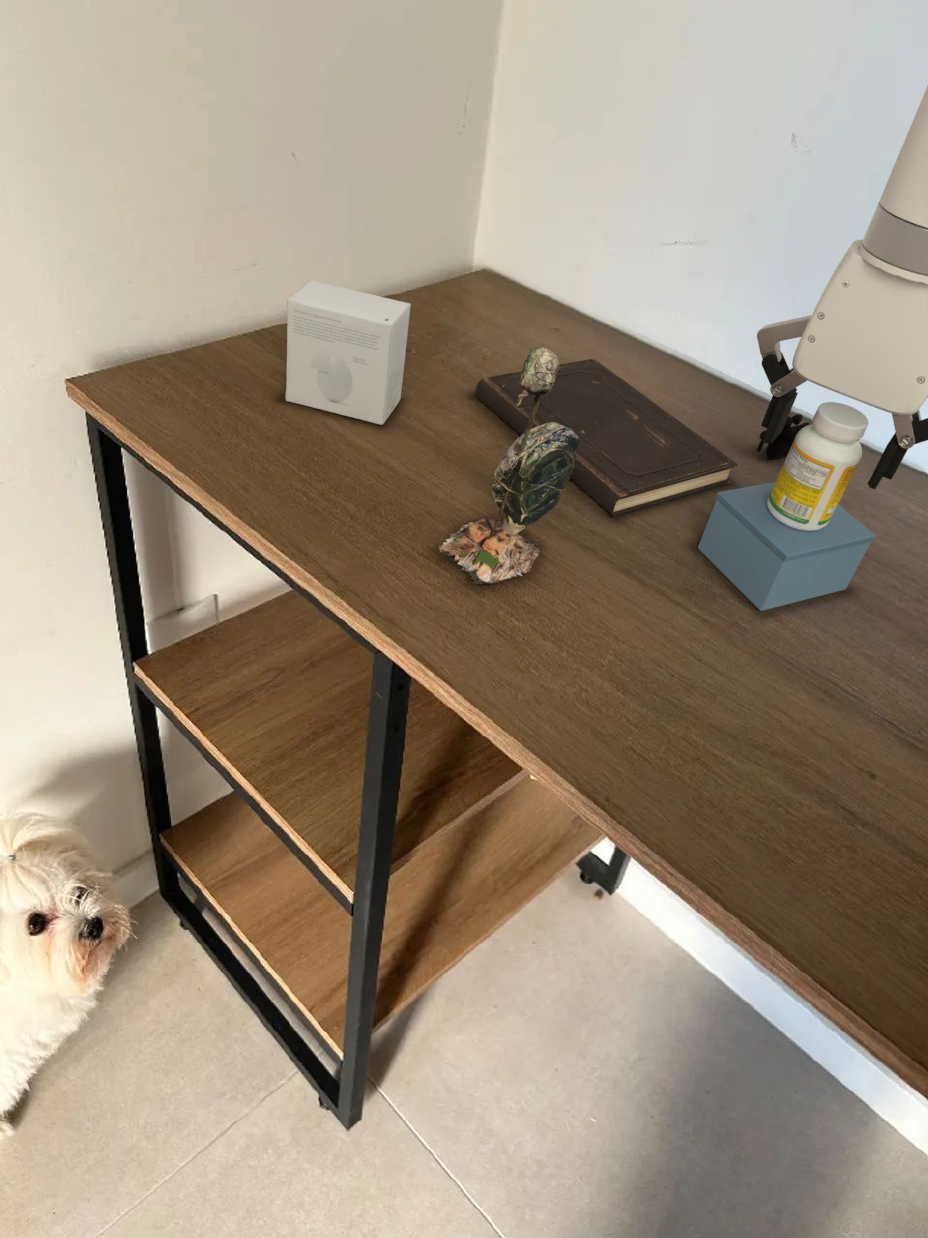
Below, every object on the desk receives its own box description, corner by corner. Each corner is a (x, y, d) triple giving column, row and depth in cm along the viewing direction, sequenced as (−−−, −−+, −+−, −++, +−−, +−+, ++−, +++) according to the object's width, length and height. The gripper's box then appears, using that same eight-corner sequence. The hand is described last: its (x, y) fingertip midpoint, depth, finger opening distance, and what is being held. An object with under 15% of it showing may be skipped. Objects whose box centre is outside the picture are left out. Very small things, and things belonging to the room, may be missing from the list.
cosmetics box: (402, 398, 97) (413, 300, 90) (382, 427, 92) (392, 326, 85) (307, 373, 98) (310, 275, 91) (283, 400, 93) (285, 299, 86)
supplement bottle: (778, 531, 77) (824, 429, 70) (757, 493, 81) (798, 394, 74) (838, 534, 78) (888, 434, 71) (814, 497, 82) (860, 400, 75)
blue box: (847, 590, 82) (877, 535, 78) (760, 612, 78) (787, 556, 74) (779, 529, 88) (804, 476, 84) (695, 547, 84) (717, 492, 80)
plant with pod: (580, 563, 80) (643, 345, 67) (470, 597, 74) (515, 367, 61) (526, 511, 84) (575, 298, 71) (419, 539, 79) (451, 314, 66)
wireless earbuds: (794, 448, 101) (812, 407, 97) (810, 460, 99) (829, 419, 96) (747, 457, 98) (764, 415, 94) (763, 470, 96) (780, 428, 93)
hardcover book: (589, 376, 107) (593, 357, 105) (730, 483, 93) (738, 463, 92) (473, 398, 99) (477, 378, 97) (609, 518, 86) (616, 497, 84)
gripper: (1058, 272, 64) (938, 484, 75) (817, 195, 70) (739, 403, 81) (1044, 301, 59) (917, 523, 70) (785, 215, 65) (707, 434, 76)
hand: (822, 458), depth 76 cm, fingers open, 8 cm apart
